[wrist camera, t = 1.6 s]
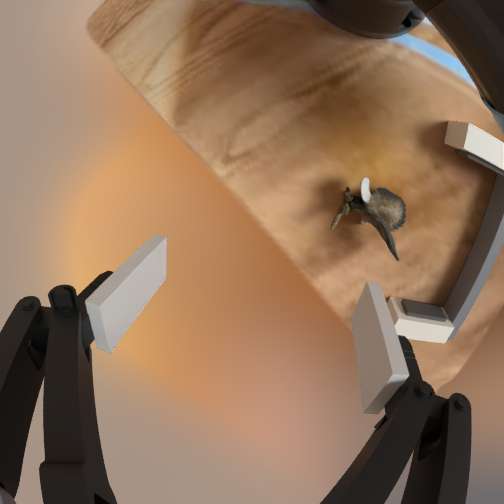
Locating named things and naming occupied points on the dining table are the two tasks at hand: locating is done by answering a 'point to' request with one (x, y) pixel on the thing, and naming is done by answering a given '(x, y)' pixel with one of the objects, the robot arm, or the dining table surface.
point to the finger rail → (481, 255)
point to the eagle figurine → (375, 211)
